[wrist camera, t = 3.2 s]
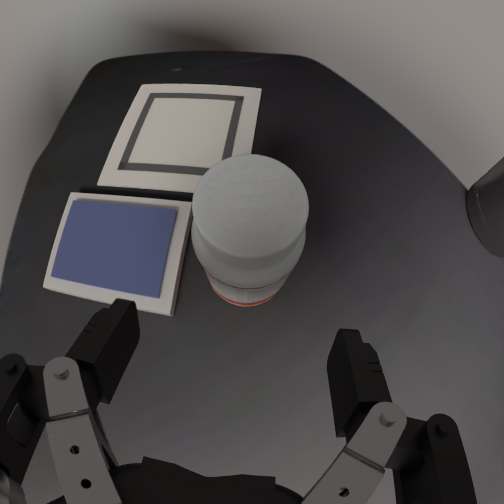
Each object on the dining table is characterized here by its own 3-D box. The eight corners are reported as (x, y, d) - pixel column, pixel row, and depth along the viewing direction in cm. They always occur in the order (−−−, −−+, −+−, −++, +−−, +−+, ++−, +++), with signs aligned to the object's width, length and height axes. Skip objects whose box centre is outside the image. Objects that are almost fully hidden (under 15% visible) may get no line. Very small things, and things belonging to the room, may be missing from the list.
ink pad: (194, 208, 25) (191, 199, 24) (173, 316, 22) (168, 313, 21) (76, 198, 25) (68, 189, 24) (50, 290, 22) (39, 285, 21)
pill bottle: (221, 222, 25) (208, 131, 14) (294, 243, 25) (331, 163, 14) (196, 294, 23) (157, 244, 12) (273, 318, 23) (302, 288, 12)
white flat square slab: (261, 90, 30) (261, 88, 30) (243, 198, 26) (243, 196, 25) (142, 85, 30) (141, 84, 30) (97, 185, 26) (96, 183, 25)
